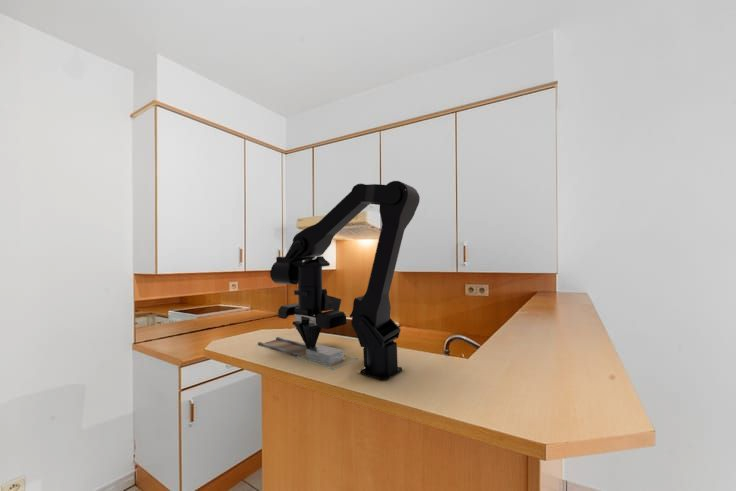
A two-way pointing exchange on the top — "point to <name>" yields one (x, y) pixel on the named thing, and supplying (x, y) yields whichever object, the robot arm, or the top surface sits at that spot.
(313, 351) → the pale grey block
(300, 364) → the top surface
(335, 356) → the near chip
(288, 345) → the slot board
